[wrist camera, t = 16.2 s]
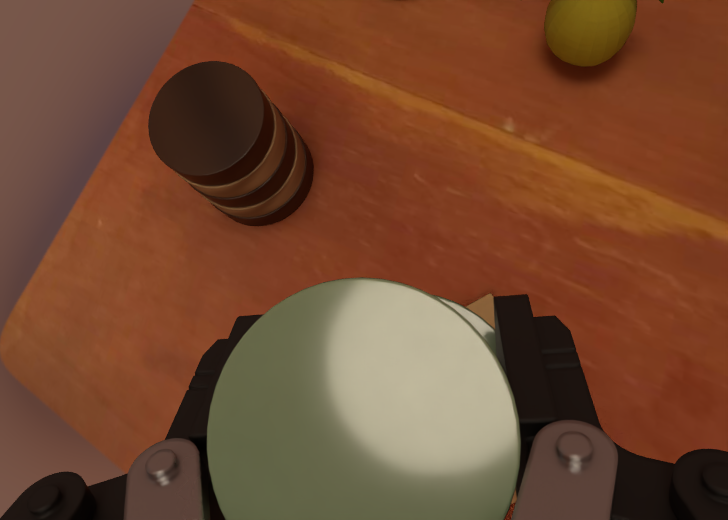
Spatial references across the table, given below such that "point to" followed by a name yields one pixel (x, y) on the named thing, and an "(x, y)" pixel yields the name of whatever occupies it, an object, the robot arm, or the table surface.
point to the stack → (231, 143)
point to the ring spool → (364, 411)
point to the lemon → (588, 29)
